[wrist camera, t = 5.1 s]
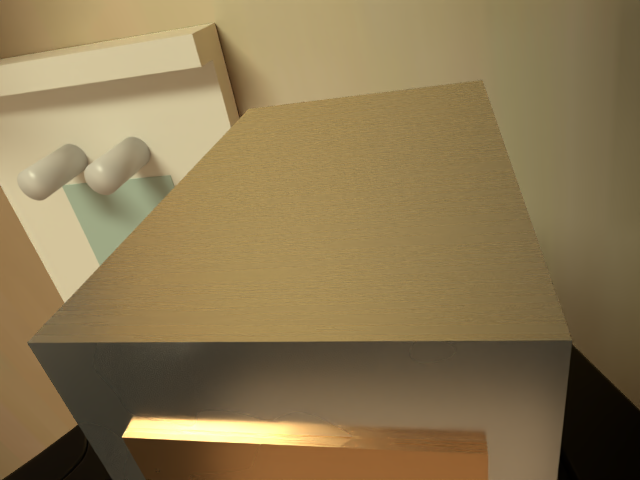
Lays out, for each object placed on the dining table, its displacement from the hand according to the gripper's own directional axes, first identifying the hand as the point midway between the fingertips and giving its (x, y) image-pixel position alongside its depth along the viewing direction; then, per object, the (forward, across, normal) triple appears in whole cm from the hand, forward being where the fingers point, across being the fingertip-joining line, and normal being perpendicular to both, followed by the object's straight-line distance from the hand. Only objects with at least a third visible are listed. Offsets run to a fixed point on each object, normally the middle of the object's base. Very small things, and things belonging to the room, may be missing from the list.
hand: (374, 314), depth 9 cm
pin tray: (+11, +12, +5) cm, 16 cm away
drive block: (+2, 0, 0) cm, 2 cm away
